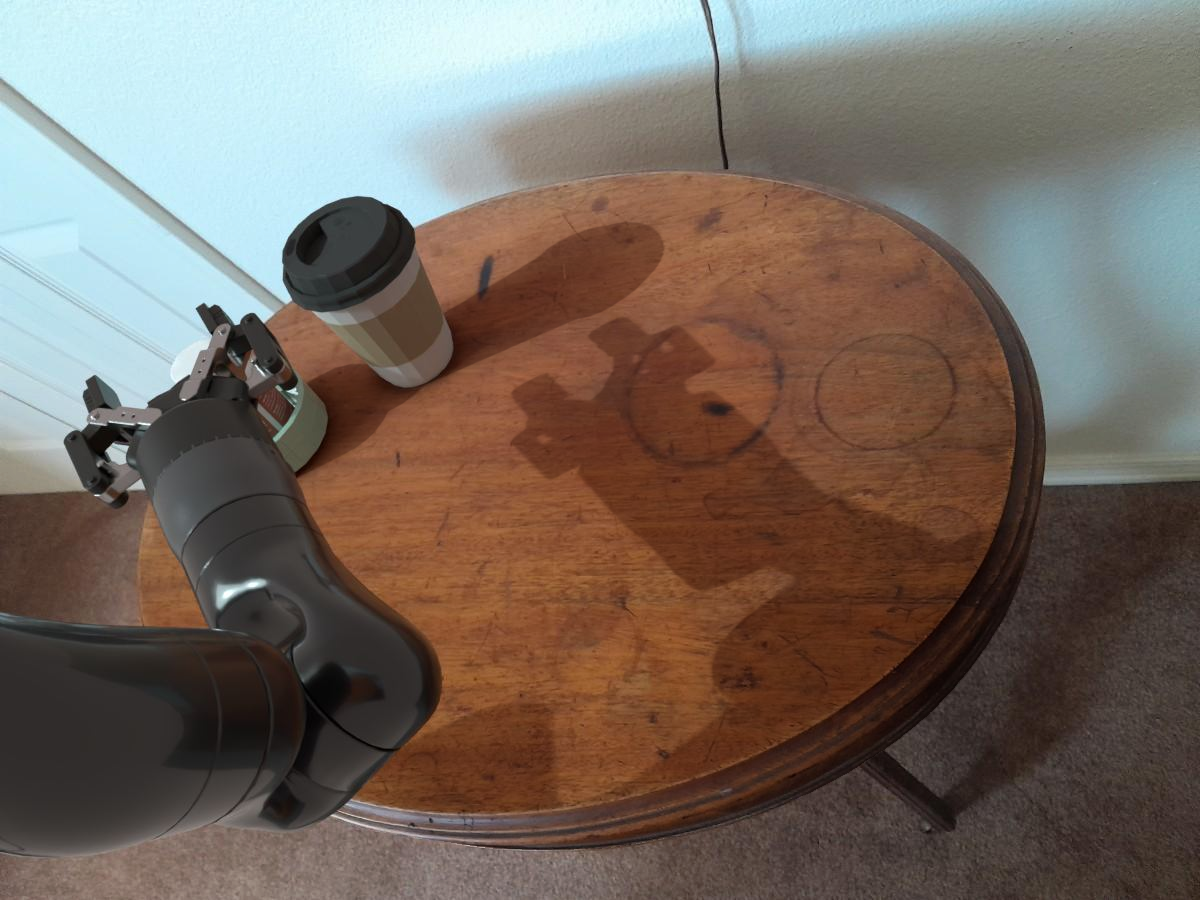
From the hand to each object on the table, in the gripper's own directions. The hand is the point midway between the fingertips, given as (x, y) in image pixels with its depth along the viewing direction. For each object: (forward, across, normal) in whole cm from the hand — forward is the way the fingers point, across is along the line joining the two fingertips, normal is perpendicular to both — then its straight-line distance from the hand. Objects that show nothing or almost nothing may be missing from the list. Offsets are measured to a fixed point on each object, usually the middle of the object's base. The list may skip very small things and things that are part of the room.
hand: (154, 349), depth 59 cm
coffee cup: (+5, -15, +19) cm, 25 cm away
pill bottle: (+7, 0, +18) cm, 20 cm away
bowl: (+7, 0, +19) cm, 20 cm away
